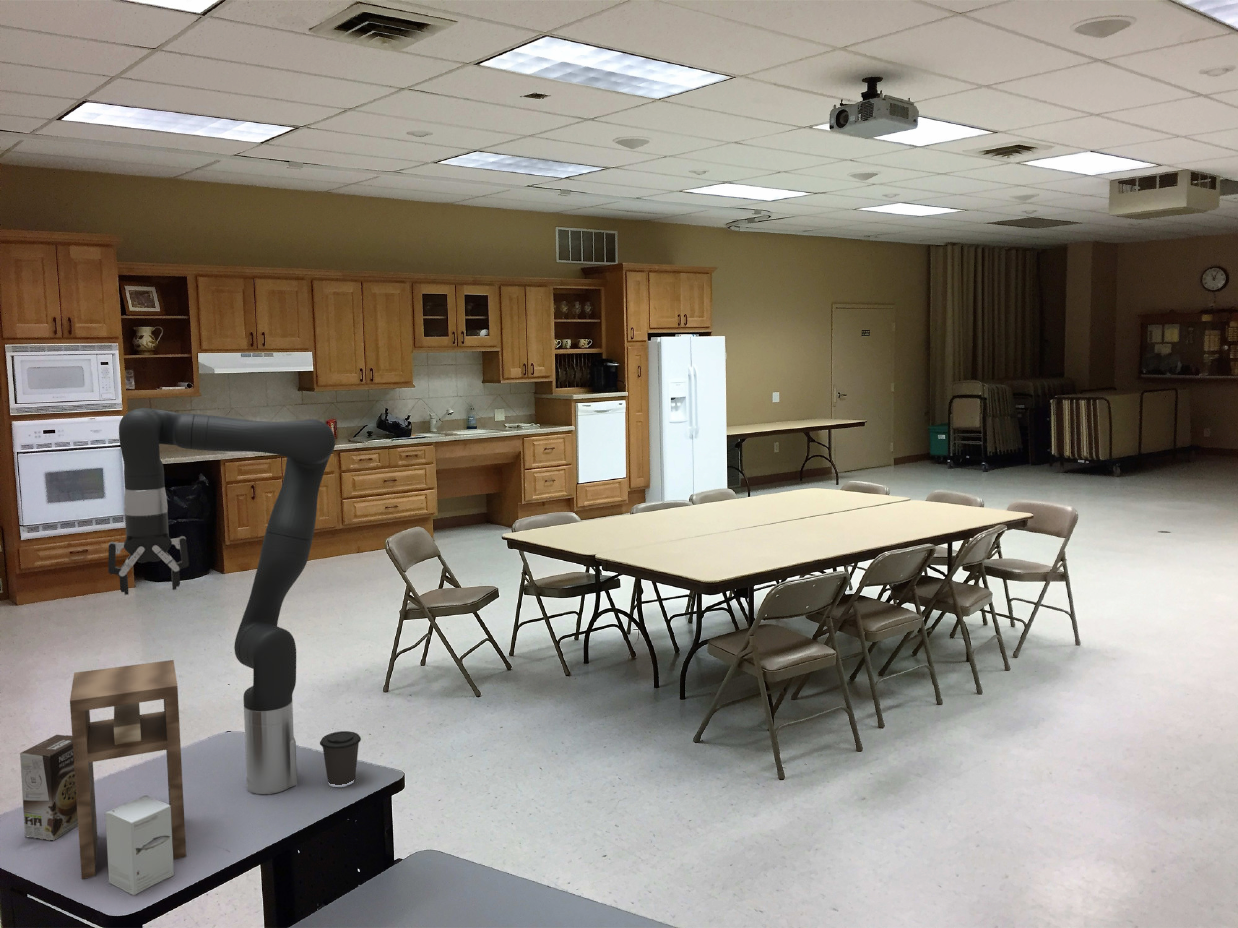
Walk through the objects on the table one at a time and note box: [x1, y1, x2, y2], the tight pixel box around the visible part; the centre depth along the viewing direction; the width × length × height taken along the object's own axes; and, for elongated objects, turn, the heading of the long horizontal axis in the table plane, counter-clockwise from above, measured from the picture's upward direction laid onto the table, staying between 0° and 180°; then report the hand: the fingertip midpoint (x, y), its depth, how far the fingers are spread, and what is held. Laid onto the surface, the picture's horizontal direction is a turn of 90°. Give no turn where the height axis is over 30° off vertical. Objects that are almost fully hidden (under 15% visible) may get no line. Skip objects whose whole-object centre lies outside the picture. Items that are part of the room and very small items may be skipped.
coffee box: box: [19, 734, 78, 841], centre depth 177 cm, size 9×6×16 cm
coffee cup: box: [319, 730, 362, 785], centre depth 197 cm, size 8×8×10 cm
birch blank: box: [113, 703, 141, 745], centre depth 173 cm, size 4×20×3 cm, turn 27°
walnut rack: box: [69, 659, 187, 880], centre depth 169 cm, size 16×15×31 cm
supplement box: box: [104, 795, 175, 896], centre depth 160 cm, size 7×7×13 cm
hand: (150, 591), depth 191 cm, fingers open, 8 cm apart
